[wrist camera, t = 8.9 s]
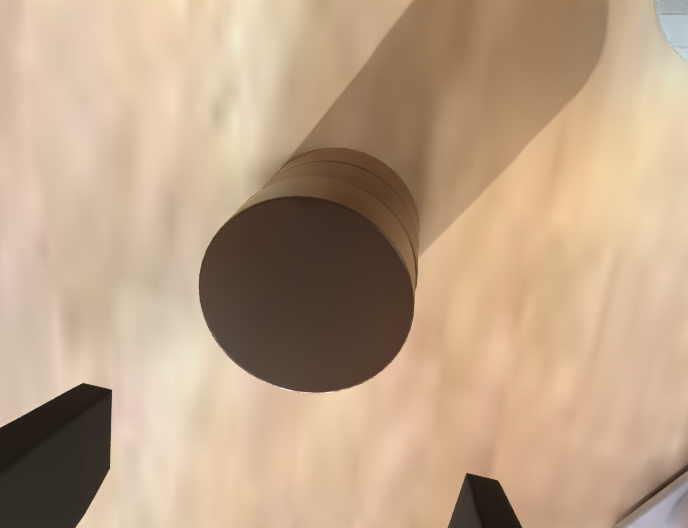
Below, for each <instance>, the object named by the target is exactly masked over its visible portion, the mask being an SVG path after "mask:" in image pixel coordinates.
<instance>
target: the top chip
mask: <svg viewBox="0 0 688 528" xmlns="http://www.w3.org/2000/svg"><path fill="white" fill-rule="evenodd" d="M415 279H416V271H415V260H414V255H413V250H412V247H411V244H410V242H409V239H408V237H407V235H406V233H405V231H404V229H403V227H402V225H401V224H400V223H399V221H398V220H397V218H396V217H395V216H394V214H393V213H392V212H391V211H390V210H389V209H388V208H387V207H386V206H385V205H384V204H383V203H382V202H380V201H379V200H378V199H377V198H375V197H374V196H373V195H371V194H369V193H368V192H366V191H365V190H363V189H361V188H359V187H357V186H355V185H352V184H350V183H347V182H344V181H341V180H338V179H332V178H327V177H316V176H306V177H296V178H291V179H286V180H283V181H280V182H277V183H274V184H272V185H270V186H268V187H266V188H264V189H262V190H260V191H259V192H258V193H256V194H255V195H254V196H252V197H251V198H250V199H249V200H248V201H247V202H246V203H245V204H244V205H242V206H241V208H240V209H239V210H238V211H237V212H236V213H235V214H234V215H233V216H232V217H231V218H230V219H229V220H228V221H227V222H226V223H225V224H224V225H223V226H222V227H221V228H220V229H219V231H218V232H217V233H216V235H215V236H214V237H213V239H212V240H211V242H210V244H209V246H208V248H207V250H206V252H205V255H204V258H203V260H202V264H201V269H200V274H199V296H200V303H201V308H202V312H203V315H204V318H205V321H206V323H207V326H208V328H209V330H210V332H211V334H212V336H213V337H214V339H215V340H216V342H217V343H218V345H219V346H220V347H221V349H222V350H223V351H224V352H225V353H226V354H227V355H228V357H229V358H230V359H232V360H233V361H234V362H235V363H236V364H237V365H238V366H239V367H241V368H242V369H243V370H245V371H246V372H247V373H249V374H251V375H252V376H254V377H256V378H257V379H259V380H261V381H263V382H266V383H268V384H270V385H272V386H275V387H278V388H281V389H285V390H289V391H294V392H300V393H311V394H314V393H330V392H337V391H341V390H345V389H349V388H352V387H354V386H357V385H359V384H362V383H364V382H365V381H367V380H369V379H371V378H373V377H374V376H375V375H377V374H378V373H379V372H381V371H382V370H383V369H384V368H386V367H387V366H388V365H389V364H390V363H391V362H392V361H393V359H394V358H395V357H396V356H397V354H398V353H399V352H400V350H401V348H402V347H403V345H404V343H405V341H406V339H407V337H408V334H409V331H410V329H411V325H412V320H413V316H414V302H415Z"/></svg>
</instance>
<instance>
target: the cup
mask: <svg viewBox="0 0 688 528" xmlns="http://www.w3.org/2000/svg"><path fill="white" fill-rule="evenodd" d="M655 8H656V14H657V19H658V22H659V25H660V28H661V30H662V32H663V34H664V36H665V38H666V40H667V41H668V43H669V44H670V45H671V47H672V48H673V49H674V50H675V51H676V52H677V53H678V54H679V55H680V56H681V57H682V58H684V59H685V60H686V61H688V0H655Z"/></svg>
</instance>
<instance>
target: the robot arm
mask: <svg viewBox="0 0 688 528" xmlns="http://www.w3.org/2000/svg"><path fill="white" fill-rule="evenodd" d="M111 408H112V390H111V389H107V388H102V387H98V386H94V385H90V384H85V383H82V384H80V385H78V386H76V387H74V388H72V389H71V390H69V391H67V392H65V393H63V394H61V395H60V396H58V397H56V398H54V399H52V400H51V401H49V402H47V403H45V404H43V405H42V406H40V407H38V408H36V409H34V410H33V411H31V412H29V413H27V414H25V415H23V416H22V417H20V418H18V419H16V420H14V421H12V422H10V423H8V424H7V425H5V426H3V427H1V428H0V528H75V527H76V526H77V524H78V523H79V522H80V520H81V519H82V517H83V516H84V514H85V513H86V511H87V509H88V507H89V506H90V504H91V502H92V500H93V499H94V497H95V495H96V493H97V491H98V490H99V488H100V486H101V484H102V482H103V480H104V478H105V476H106V475H107V473H108V471H109V469H110V446H111ZM448 528H522V526H521V524H520V522H519V520H518V519H517V517H516V515H515V513H514V511H513V509H512V507H511V505H510V503H509V501H508V499H507V496H506V494H505V492H504V490H503V488H502V486H501V485H500V483H499V482H498V480H494V479H490V478H486V477H481V476H477V475H473V474H469V473H466V476H465V479H464V482H463V485H462V488H461V491H460V494H459V497H458V500H457V503H456V506H455V508H454V511H453V514H452V517H451V520H450V523H449V526H448ZM613 528H688V471H687V472H685V473H684V474H683V475H681V476H680V477H679V478H677V479H676V480H675V481H673V482H672V483H671V484H669V485H668V486H667V487H665V488H664V489H663V490H661V491H660V492H659V493H657V494H656V495H655V496H653V497H652V498H651V499H649V500H648V501H647V502H645V503H644V504H643V505H641V506H640V507H639V508H637V509H636V510H635V511H633V512H632V513H631V514H630V515H628V516H627V517H626V518H624V519H623V520H622V521H620V522H619V523H618V524H616V525H615V526H614V527H613Z"/></svg>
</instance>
